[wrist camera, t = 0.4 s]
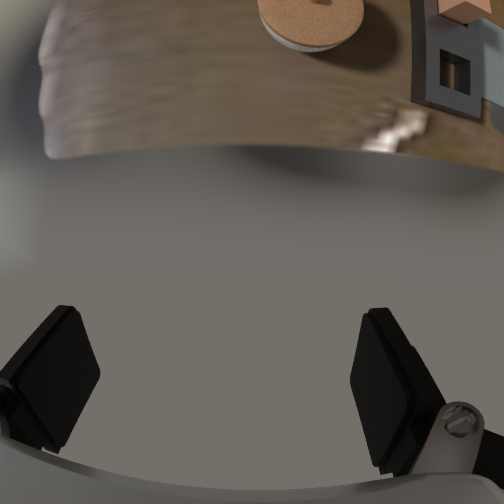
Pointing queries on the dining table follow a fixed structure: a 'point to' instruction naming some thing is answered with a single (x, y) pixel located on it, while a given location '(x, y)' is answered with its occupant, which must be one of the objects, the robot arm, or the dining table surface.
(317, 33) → the lidded jar
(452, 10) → the plug
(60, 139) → the dining table surface
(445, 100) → the socket plate
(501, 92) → the mat
